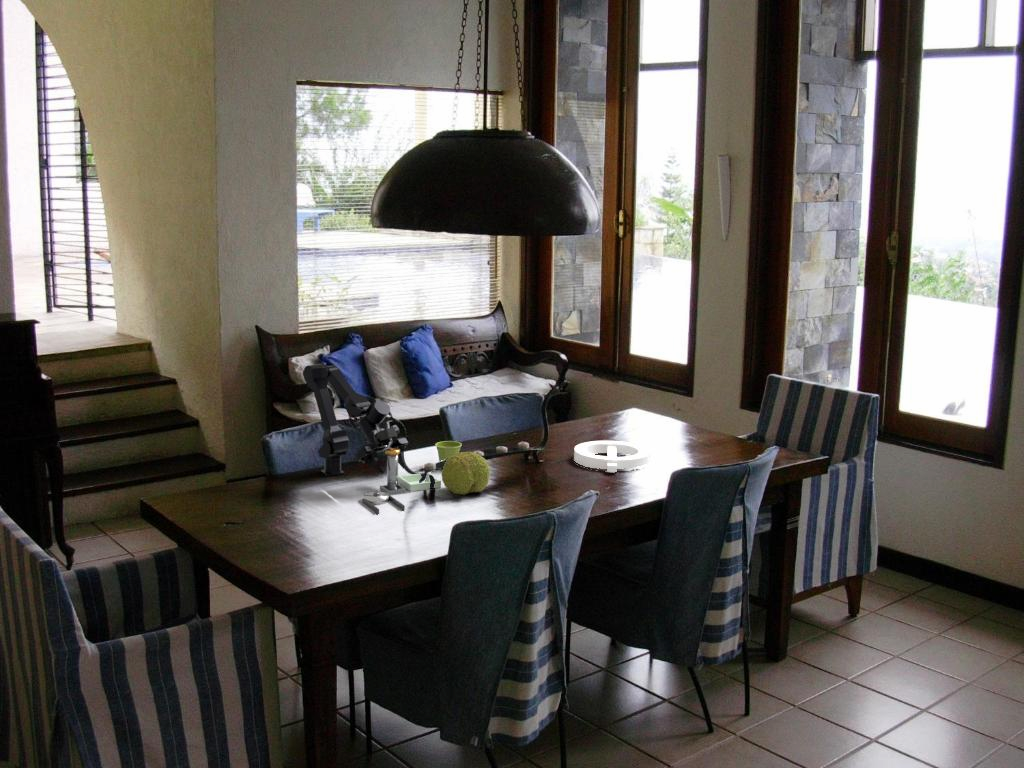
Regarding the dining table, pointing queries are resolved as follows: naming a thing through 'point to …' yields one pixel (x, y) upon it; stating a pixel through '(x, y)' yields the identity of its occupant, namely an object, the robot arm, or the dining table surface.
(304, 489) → the dining table surface
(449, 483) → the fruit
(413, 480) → the tray
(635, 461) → the ring with crossbar
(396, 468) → the lock pin
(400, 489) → the tensioner base
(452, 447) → the plant pot
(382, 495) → the grey forked bracket
